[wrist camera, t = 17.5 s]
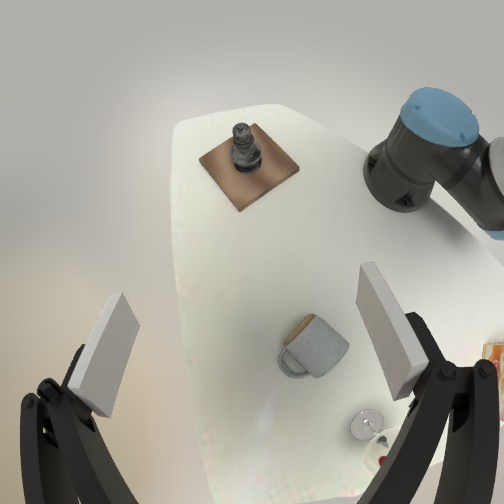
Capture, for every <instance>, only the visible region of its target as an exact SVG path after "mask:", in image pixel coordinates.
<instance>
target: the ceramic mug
mask: <svg viewBox="0 0 504 504" xmlns="http://www.w3.org/2000/svg"><path fill="white" fill-rule="evenodd" d="M284 345H285V348H284V350H283V351H282V352H281V354H280V356H279V366H280V368H281V370H282V371H283V372H284V373H285V374H286V375H287V376H289V377H291V378H302V377H305V376H308V375H309V374H311V375H312V376H313V377H314V378H319V377H321V376H323V375H325V374H326V373H327V372H329V371H330V370H331V369H332V368H333V367H334V366H335V365H336V364H337V363H338V362H339V361H340V359H341V358H342V357H343V356H344V355H345V353H346V352H347V350H348V348H349V343H348V342H347V341H346V340H345V339H344V338H343V337H342V336H341V335H340V334H338V333H337V332H336V331H335V330H334V329H333V328H331V327H330V326H329V325H328V324H327V323H326V322H325V321H324V320H323V319H321V318H320V317H318V316H317V315H315V314H310V315H309V316H308V317H306V318H305V319H304V321H303V322H302V323H301V324H300V325H299V326H298V327H297V328H296V329H295V330H294V331H293V332H292V333H291V334H290V335H289V336H288V337H287V338H286V340H285V341H284ZM286 350H288V351H289V353H290V354H291V355H292V356H293V357H294V358H296V359H297V360H298V361H299V362H300V364H301V365H302V366H303V367H304V368H305V369H306V370H307V371H306V372H303V373H294V372H292V371H291V370H290V369H289V368H288V367H287V365H286V363H285V362H284V361H283V355H284V353H285V352H286Z"/></svg>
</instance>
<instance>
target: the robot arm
mask: <svg viewBox="0 0 504 504" xmlns="http://www.w3.org/2000/svg"><path fill="white" fill-rule="evenodd" d="M364 178H365V181H366V184H367V186H368V188H369V190H370V191H371V193H372V194H373V196H374V197H375V198H376V199H377V200H378V201H379V202H380V203H382V204H383V205H384V206H386V207H388V208H390V209H392V210H395V211H398V212H412V211H415V210H417V209H418V208H420V207H421V206H422V205H423V204H424V203H425V202H426V201H427V200H428V198H429V197H430V194H431V191H432V189H433V185H434V183H435V180H436V181H437V182H438V183H439V184H440V185H441V186H442V187H443V188H444V189H445V190H446V191H447V192H448V193H449V194H450V195H451V196H452V197H453V198H454V199H455V200H456V201H457V202H458V203H459V204H460V205H461V206H462V207H463V208H464V210H465V211H466V212H467V213H468V214H469V215H470V216H471V217H472V218H473V220H474V221H475V222H476V223H477V225H478V226H479V227H480V228H481V229H482V230H484V231H485V232H486V233H487V234H488V235H489V236H490V237H491V238H493V239H495V240H504V138H503V137H498V138H496V139H494V140H493V141H492V142H491V143H490V144H489V143H488V142H487V141H486V140H485V139H484V138H483V137H482V136H481V135H480V134H479V124H478V121H477V119H476V117H475V115H473V114H472V111H471V109H470V108H469V107H468V106H467V105H466V104H465V103H464V102H463V101H461V100H460V99H459V98H457V97H455V96H454V95H453V94H451V93H449V92H447V91H444V90H441V89H438V88H430V87H424V88H420V89H417V90H416V91H414V92H413V93H412V94H411V95H410V97H409V99H408V100H407V102H406V103H405V104H404V105H403V106H402V108H401V112H400V115H399V117H398V119H397V121H396V123H395V125H394V127H393V129H392V130H391V132H390V134H389V136H388V138H387V139H386V140H384V141H383V142H381V143H380V144H378V145H377V146H375V147H374V148H373V149H372V150H371V151H370V153H369V154H368V156H367V158H366V160H365V163H364ZM356 304H357V306H358V309H359V311H360V313H361V316H362V318H363V321H364V323H365V325H366V328H367V330H368V333H369V335H370V338H371V340H372V343H373V345H374V348H375V351H376V353H377V356H378V359H379V361H380V364H381V367H382V369H383V372H384V375H385V378H386V380H387V383H388V386H389V389H390V392H391V395H392V398H393V401H396V400H399V399H402V398H406V397H409V395H410V394H411V392H412V390H413V392H414V395H415V398H414V399H413V401H412V402H411V404H410V405H409V407H410V409H409V411H408V414H407V416H406V418H405V420H404V423H403V425H402V427H401V429H400V431H399V433H398V435H397V437H396V439H395V441H394V443H393V445H392V447H391V449H390V451H389V453H388V454H387V456H386V458H385V460H384V462H383V463H382V465H381V467H380V468H379V470H378V472H377V473H376V475H375V477H374V478H373V480H372V482H371V483H370V485H369V486H368V488H367V489H366V491H365V492H364V494H363V495H362V497H361V498H360V500H359V501H358V502H357V504H410V502H411V500H412V498H413V497H414V495H415V493H416V491H417V489H418V487H419V485H420V483H421V481H422V479H423V477H424V475H425V473H426V471H427V469H428V467H429V465H430V463H431V460H432V458H433V456H434V453H435V451H436V448H437V446H438V443H439V441H440V438H441V436H442V433H443V430H444V427H445V424H446V422H447V419H448V415H449V412H450V415H449V426H448V435H447V443H446V449H445V456H444V461H443V467H442V472H441V476H440V481H439V486H438V489H437V493H436V497H435V501H434V504H490V503H491V499H492V493H493V488H494V483H495V476H496V469H497V460H498V449H499V428H500V409H499V387H498V376H497V369H496V366H495V365H494V364H493V363H492V362H491V361H490V360H487V359H481V360H479V361H477V362H476V364H475V365H474V367H456V365H455V364H454V363H452V362H450V361H446V360H445V358H444V356H443V354H442V353H441V351H440V349H439V347H438V345H437V343H436V341H435V340H434V338H433V336H432V335H431V332H430V331H429V329H428V328H427V325H426V324H425V322H424V320H423V318H421V317H420V316H419V315H418V314H417V313H415V312H411V313H407V314H404V312H403V311H402V309H401V307H400V305H399V303H398V302H397V300H396V298H395V296H394V295H393V293H392V291H391V290H390V288H389V286H388V285H387V283H386V281H385V280H384V278H383V276H382V275H381V273H380V271H379V270H378V268H377V267H376V265H375V263H374V262H371V263H364V264H360V274H359V283H358V292H357V300H356ZM139 327H140V325H139V323H138V321H137V319H136V317H135V315H134V313H133V311H132V310H131V308H130V306H129V304H128V302H127V300H126V298H125V296H124V294H123V292H116V293H112V294H111V296H110V298H109V299H108V301H107V303H106V305H105V307H104V309H103V311H102V312H101V314H100V316H99V318H98V320H97V322H96V324H95V326H94V328H93V330H92V332H91V335H90V336H89V338H88V341H87V343H86V344H82V346H81V347H80V348H79V349H78V350H77V352H76V354H75V356H74V358H73V360H72V362H71V366H70V367H69V369H68V372H67V373H66V376H65V378H64V380H63V383H62V385H61V387H60V386H59V385H58V384H57V383H56V382H55V380H53V379H51V378H47V379H44V380H43V381H42V382H41V383H40V384H39V386H38V389H37V395H38V396H40V397H41V398H39V397H37V396H36V395H35V394H34V393H29V394H27V395H26V396H25V397H24V398H23V400H22V403H21V416H20V455H21V470H22V481H23V489H24V496H25V502H26V504H79V501H78V497H79V500H80V502H81V504H138V502H137V501H136V499H135V497H134V496H133V494H132V493H131V491H130V489H129V488H128V486H127V485H126V483H125V481H124V479H123V478H122V476H121V474H120V472H119V470H118V469H117V467H116V465H115V463H114V461H113V459H112V457H111V455H110V453H109V451H108V449H107V447H106V445H105V443H104V441H103V439H102V436H101V434H100V432H99V430H98V427H97V425H96V423H95V420H94V418H93V417H92V416H91V413H92V411H94V412H95V413H96V414H97V415H98V416H101V417H107V418H110V417H111V413H112V409H113V406H114V403H115V399H116V396H117V392H118V389H119V386H120V383H121V380H122V377H123V373H124V370H125V367H126V364H127V361H128V358H129V355H130V353H131V350H132V347H133V344H134V341H135V338H136V335H137V333H138V330H139ZM43 428H45V430H46V432H45V433H43ZM77 495H78V496H77Z"/></svg>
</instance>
